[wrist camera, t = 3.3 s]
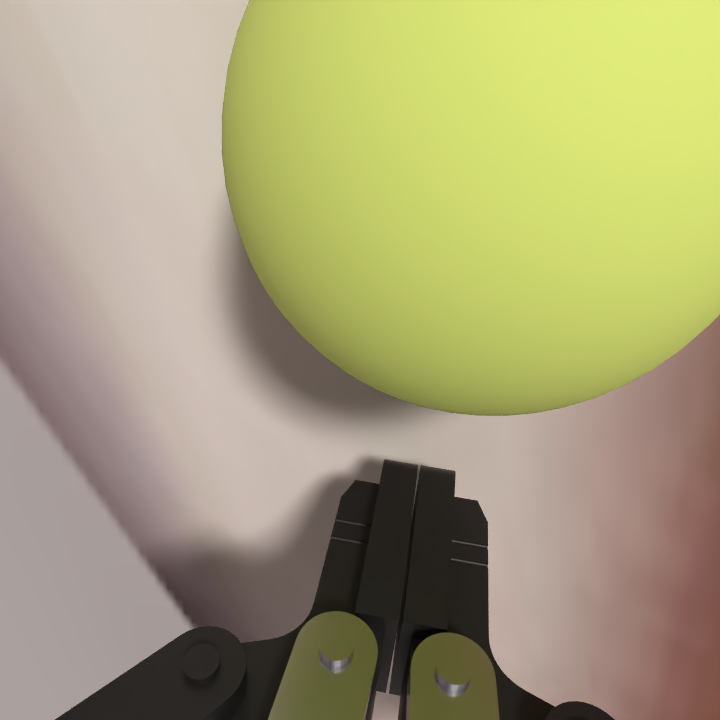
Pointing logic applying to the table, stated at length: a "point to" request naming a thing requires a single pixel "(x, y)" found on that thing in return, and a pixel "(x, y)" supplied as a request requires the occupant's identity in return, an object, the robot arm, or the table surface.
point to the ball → (481, 189)
